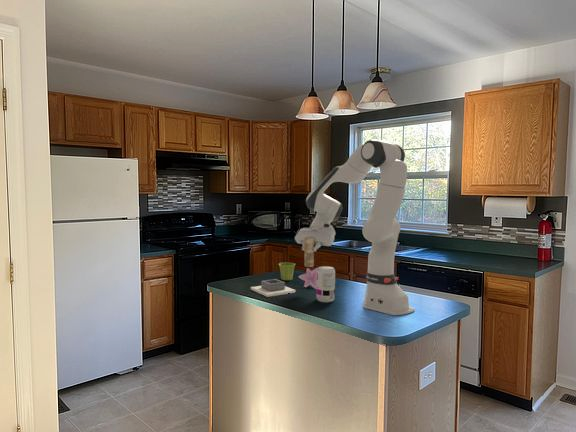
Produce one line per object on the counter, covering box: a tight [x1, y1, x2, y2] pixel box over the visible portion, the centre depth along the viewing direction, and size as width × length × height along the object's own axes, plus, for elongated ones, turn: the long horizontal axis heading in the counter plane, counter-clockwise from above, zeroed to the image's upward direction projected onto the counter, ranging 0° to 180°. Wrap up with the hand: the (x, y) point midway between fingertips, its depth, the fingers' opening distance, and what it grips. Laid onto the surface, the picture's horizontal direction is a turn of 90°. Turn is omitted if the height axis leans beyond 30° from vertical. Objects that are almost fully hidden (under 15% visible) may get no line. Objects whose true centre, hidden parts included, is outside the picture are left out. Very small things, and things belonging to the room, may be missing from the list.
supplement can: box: [315, 265, 336, 303], centre depth 189 cm, size 8×8×15 cm
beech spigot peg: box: [304, 237, 315, 268], centre depth 202 cm, size 4×4×14 cm
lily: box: [298, 266, 320, 290], centre depth 215 cm, size 12×12×10 cm
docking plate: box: [250, 278, 296, 298], centre depth 204 cm, size 16×16×5 cm
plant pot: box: [278, 262, 296, 281], centre depth 230 cm, size 9×9×9 cm
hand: (308, 250), depth 202 cm, fingers closed on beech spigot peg, 4 cm apart
